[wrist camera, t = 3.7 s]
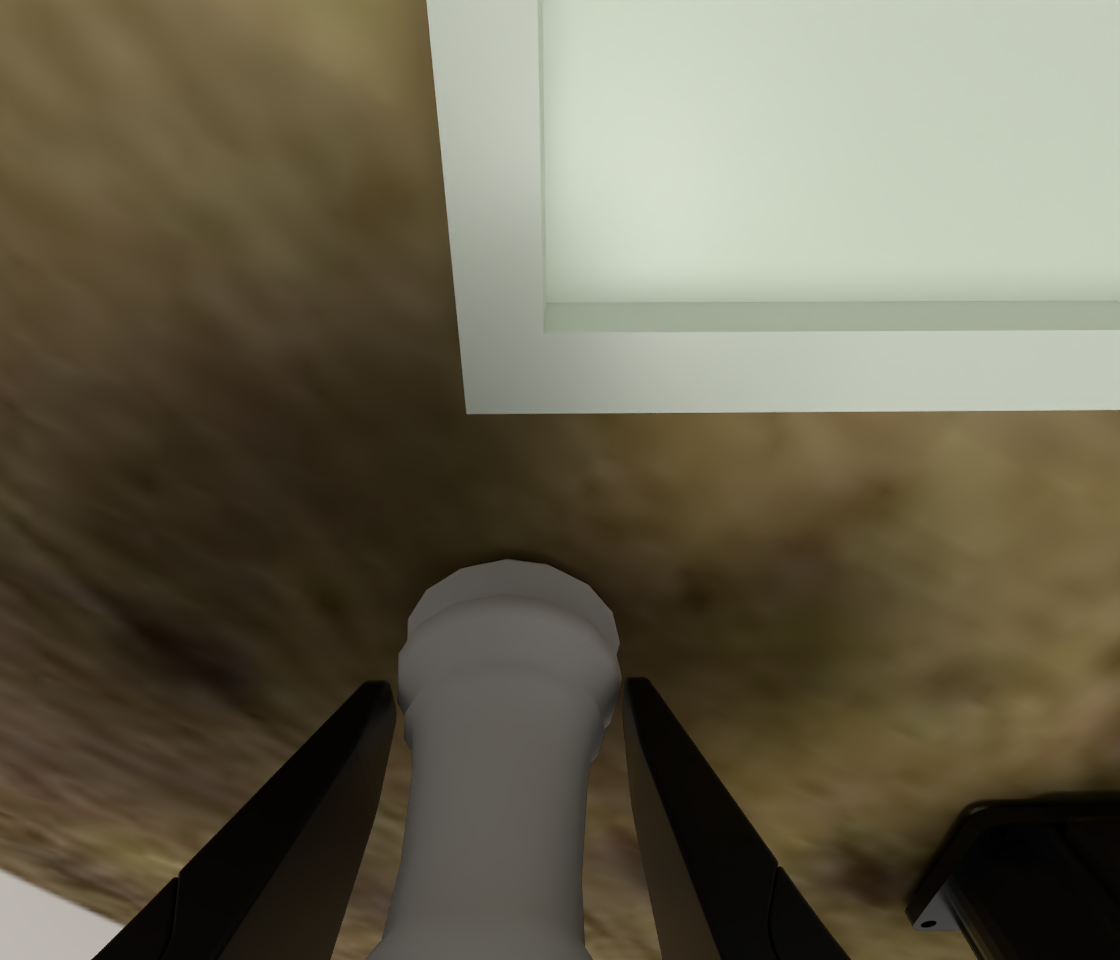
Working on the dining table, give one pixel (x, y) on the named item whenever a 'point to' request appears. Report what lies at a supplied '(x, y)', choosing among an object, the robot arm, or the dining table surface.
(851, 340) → the tray
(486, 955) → the rook chess piece
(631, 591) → the dining table surface
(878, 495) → the dining table surface
